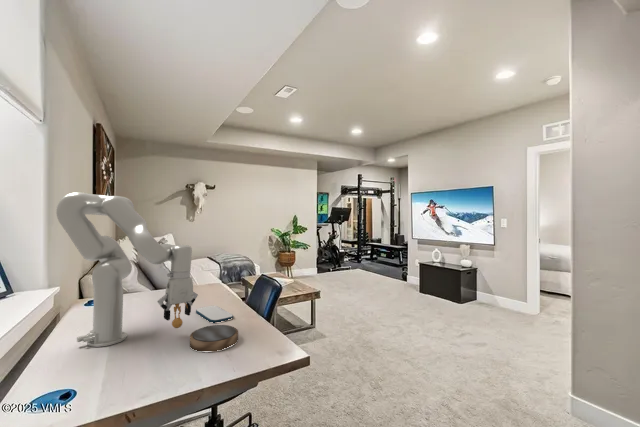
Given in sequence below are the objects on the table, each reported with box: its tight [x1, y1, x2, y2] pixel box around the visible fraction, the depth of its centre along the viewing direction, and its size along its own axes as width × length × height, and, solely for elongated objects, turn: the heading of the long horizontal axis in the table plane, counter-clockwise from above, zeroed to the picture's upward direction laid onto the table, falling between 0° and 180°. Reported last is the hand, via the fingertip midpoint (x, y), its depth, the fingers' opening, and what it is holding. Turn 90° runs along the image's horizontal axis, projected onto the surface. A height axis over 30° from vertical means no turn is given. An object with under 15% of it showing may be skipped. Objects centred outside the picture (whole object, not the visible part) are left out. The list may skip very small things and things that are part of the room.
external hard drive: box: [195, 305, 234, 324], centre depth 149 cm, size 24×12×2 cm, turn 43°
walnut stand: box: [189, 324, 239, 352], centre depth 117 cm, size 18×18×4 cm
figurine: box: [171, 302, 188, 329], centre depth 123 cm, size 8×6×12 cm
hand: (177, 316), depth 123 cm, fingers closed on figurine, 8 cm apart
